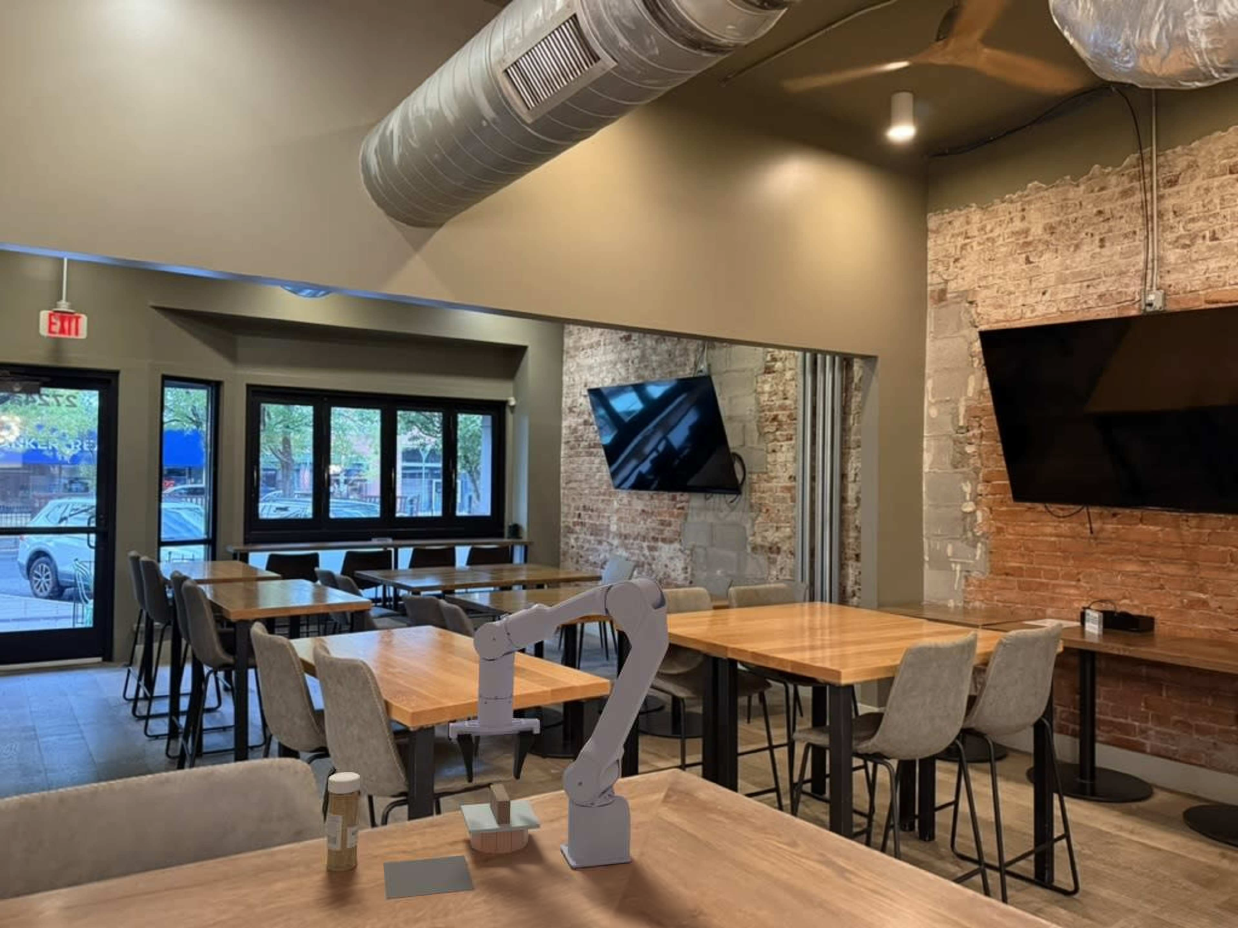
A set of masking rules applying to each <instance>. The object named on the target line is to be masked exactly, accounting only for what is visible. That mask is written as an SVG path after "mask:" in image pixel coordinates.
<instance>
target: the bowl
mask: <svg viewBox="0 0 1238 928" xmlns="http://www.w3.org/2000/svg"><path fill="white" fill-rule="evenodd" d="M528 843H529V829H525V830H514V831H503V832H492V833H481V834H470V835H469V844H470V846H471V848H472V849H474V850H476V851H478V852H481V853H487V854H493V855H494V854H495V855H497V854H498V855H499V854H507V853H508V854H509V853H513V852H517V851H520V850H522V849H524V848H525V847H526V845H527V844H528Z"/></svg>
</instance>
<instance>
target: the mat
mask: <svg viewBox="0 0 1238 928" xmlns="http://www.w3.org/2000/svg"><path fill="white" fill-rule="evenodd" d="M383 871H384V872H383V874H384V886H385V899H386V900H394V899H403V898H411V897H420V896H429V895H430V896H431V895H438V894H439V895H440V894H447V893H449V894H450V893H458V892H466V891H467V892H468V891H475V886H474V882H473V880H472V877H471V873H470V869H469V867H468V862H467V860H466V857H465V855H464V854H463V855H452V856H443V857H434V858H433V857H432V858H424V859H423V858H422V859H411V860H402V861H401V860H400V861H391V862H383Z"/></svg>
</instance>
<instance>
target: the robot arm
mask: <svg viewBox="0 0 1238 928" xmlns="http://www.w3.org/2000/svg"><path fill="white" fill-rule="evenodd" d="M668 605H669V600H668V598H667V596H666V594H665V592H664V590H663V589H662V586H661V585H660V583H659V582H658V581H657V580H655V579H654V578H652V577H650V576H644V575H642V576H638V577H635V578H634V579H629V580H622V581H618V582H614V583H613V582H612V583H608V584H605V585H601V586H597V587H596V586H595V587H593V588H590V589H588V590H586V591H584V592H582V593H580V594H577V595H575V596H573V597H571V598H568V599H566V600H564V601H561V602H560V603H557V604H555V605H553V606H551V607H550V606H548V605H546V604H543V603H535V601H534V602H529V603H526V604H525V605H524V606H523V607H524V608H523V609H521V610H519V611H517V612H514V613H512V614H509V613H505V614H502V615H500V616H499V617H500V620H497V621H493V622H485V623H484V624H483V625H481V626H480V627H478V628H477V630H475V633H474V635H473V639H472V641H473V646H474V647H473V648H474V650H475V652H476V654H477V655H478V690H477V694H478V696H477V719H473V720H466V721H461V722H460V721H459V722H449V725H448V728H449V729H448V736H449V738H450V739H456V742H457V744H458V748H459V750H460V752H461V753H460V754H461V756H462V760H463V764H464V768H465V773H466V774H465V775H466V781H467V784H472V783H473V782H474V781H473V780H474V771H473V770H474V768H473V766H474V765H473V761H474V760H473V759H474V748H475V743H474V741H473V736H474V737H476V736H493V735H496V736H497V735H509V734H510V735H511V734H512V735H513V739H514V740H513V741H514V744H513V745H514V757H513V768H512V769H513V770H512V772H513V775H512V776H513V777H514V779H515V780H520V779H521V774H522V770H523V766H524V763H525V760H526V757H527V755H528V753H529V751H530V749H531V747H532V745H533V744H534V741H535V736H534V735H535V734H540V728H541V727H540V725H541V723H540V722H541V721H540V720H539V719H538V718H518V717H517V718H515V717H514V686H515V685H514V683H515V681H514V680H515V661H516V660H515V659H516V653H517V651H519V650H522V649H524V648H527V647H529V646H532V645H535V644H537V643H539V642H542V641H545V640H547V639H549V638H552V637H553V636H554V635H555V632H556V630H557V627H558V626H559V625H562V624H565V623H568V622H570V621H573V620H576V619H578V618H582V617H585V616H587V615H590V614H592V613H595V612H596V613H597V614H599V615H601V616H605V617H606V616H609V615H610V616H611V617H612V619H613V620H614V621H615V622H616V623H617V624H618V626H620V628H621V629H622V630H623V631H624V633H625V634H626V636H627V638H628V640H629V643H630V645H631V649H630V650H629V653H628V656H627V658H626V660H625V663H624V664H623V666H622V668H621V671H620V673H619V675H618V677H617V680H616V682H615V684H614V686H613V688H612V691H611V693H610V695H609V697H608V699H607V702H606V704H605V706H604V708H603V710H602V713H601V714H600V717H599V719H598V722H597V724H596V725H595V728H594V730H593V732H592V734H591V737H590V738H589V739H588V741H587V742H586V743H585V744H584V746H583V747H582V749H581V750H580V752H579V754H578V755H577V758H576V759H575V761H574V762H572V763H570V764H569V766H566V768H565V770H564V772H563V773H562V774H563V775H562V779H561V780H562V781H561V782H562V788H563V791H564V793H565V795H566V797H568V809H567V811H568V813H567V843H565V844H560V845H559V847H560V851H561V852H562V853H563V856H564V857H565V859H566V861H567V862H568V864H569V866H570V867H571V868H572V869H574V868H576V869H577V868H584V867H585V868H586V867H594V866H595V867H596V866H604V865H605V866H606V865H611V864H613V865H614V864H623V863H630V862H631V861H632V858H631V856H630V855H631V824H632V823H631V819H632V818H631V811H630V803H629V801H628V798H627V797H626V796H625V795H616V792H615V790H614V789H615V788H614V785H615V784H616V783H617V782H618V780H619V778H620V776H621V771H622V769H621V768H622V767H621V764H622V763H621V762H622V758H623V756H624V753H625V749H624V744H625V742H626V739H627V738H628V735H629V734H630V731H631V729H632V727H633V725H634V722H635V720H636V718H637V716H638V714H639V711H640V709H641V707H642V705H643V703H644V701H645V699H646V697H647V695H648V692H649V689H650V687H651V686H652V683H653V681H654V679H655V677H656V675H657V672H658V671H659V668H660V667H661V664H662V662H663V660H664V657H665V655H666V653H667V650H668V649H669V644H670V643H669V629H668V615H667V611H668Z"/></svg>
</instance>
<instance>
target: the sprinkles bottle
mask: <svg viewBox="0 0 1238 928" xmlns="http://www.w3.org/2000/svg"><path fill="white" fill-rule="evenodd" d="M327 781H328V782H327V791H328V809H327V811H328V812H327V832H326V833H327V836H326V846H327V852H326V853H327V856H326V857H327V859H326V863H325V867H326V869H327V870H328V871H332V872H345V871H348V870H352V869H354V868H355V867H357V865H358V843H359V842H358V841H359V840H358V838H359V837H358V835H359V792H360V788H361V775H360V774H358V773H356V772H351V771H350V772H349V771H348V772H347V771H346V772H344V771H343V772H337V773H334V774H332V775H331V776H329V777H328V780H327Z"/></svg>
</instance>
